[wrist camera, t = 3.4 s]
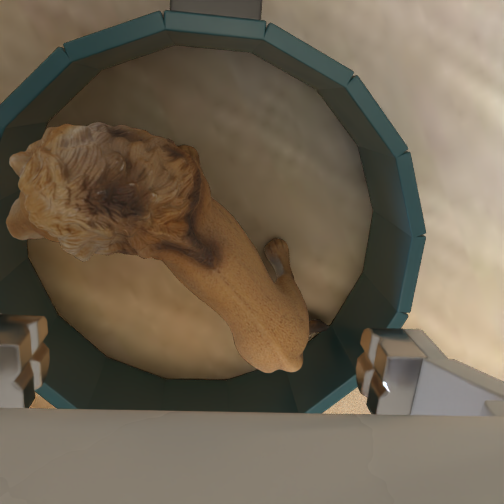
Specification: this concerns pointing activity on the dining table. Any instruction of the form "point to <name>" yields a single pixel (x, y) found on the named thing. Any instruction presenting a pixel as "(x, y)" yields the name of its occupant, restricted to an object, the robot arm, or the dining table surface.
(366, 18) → the dining table surface
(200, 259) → the lion figurine
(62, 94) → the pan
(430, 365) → the robot arm
